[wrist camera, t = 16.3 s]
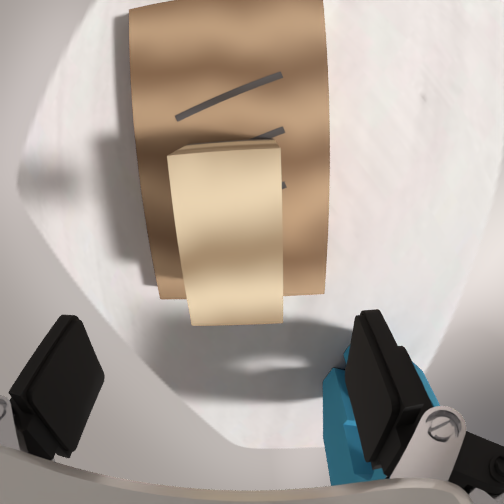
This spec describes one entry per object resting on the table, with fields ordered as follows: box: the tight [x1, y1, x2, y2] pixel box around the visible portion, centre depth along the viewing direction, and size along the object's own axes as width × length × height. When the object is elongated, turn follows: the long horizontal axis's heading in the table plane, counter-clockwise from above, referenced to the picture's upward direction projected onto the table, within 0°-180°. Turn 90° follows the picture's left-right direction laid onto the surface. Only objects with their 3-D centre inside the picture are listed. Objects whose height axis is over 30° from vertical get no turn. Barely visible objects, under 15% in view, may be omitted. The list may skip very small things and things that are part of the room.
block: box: [323, 345, 440, 486], centre depth 24 cm, size 12×5×20 cm, turn 158°
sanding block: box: [167, 139, 283, 326], centre depth 21 cm, size 11×6×6 cm, turn 3°
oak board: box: [129, 0, 330, 299], centre depth 23 cm, size 24×14×2 cm, turn 3°
